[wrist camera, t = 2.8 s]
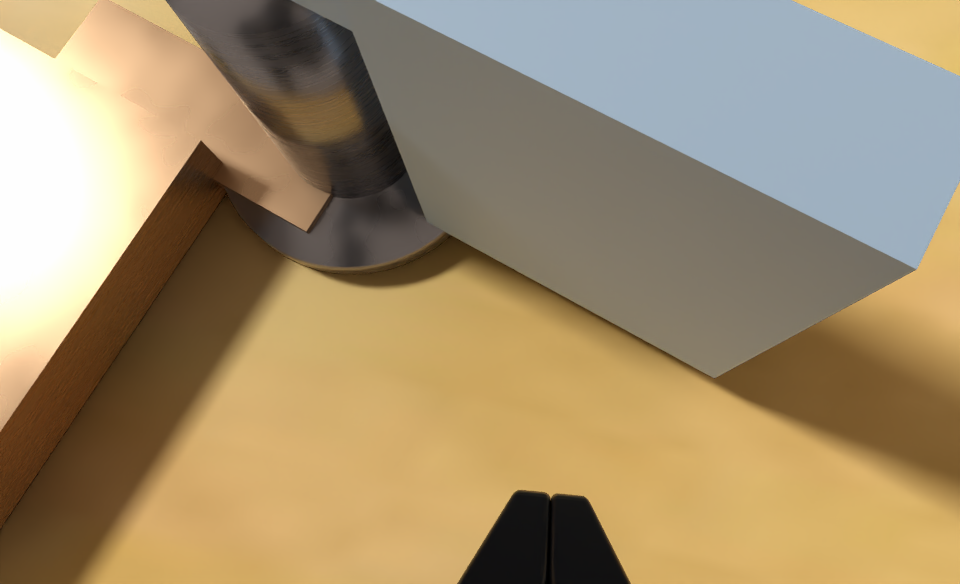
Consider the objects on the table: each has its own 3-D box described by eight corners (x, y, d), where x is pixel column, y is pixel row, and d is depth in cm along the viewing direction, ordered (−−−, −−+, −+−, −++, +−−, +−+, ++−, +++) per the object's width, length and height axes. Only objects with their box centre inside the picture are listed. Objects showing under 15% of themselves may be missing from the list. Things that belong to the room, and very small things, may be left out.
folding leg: (310, 158, 17) (115, -128, 9) (360, 83, 17) (215, -258, 9) (713, 378, 15) (917, 269, 7) (760, 290, 16) (1001, 94, 8)
